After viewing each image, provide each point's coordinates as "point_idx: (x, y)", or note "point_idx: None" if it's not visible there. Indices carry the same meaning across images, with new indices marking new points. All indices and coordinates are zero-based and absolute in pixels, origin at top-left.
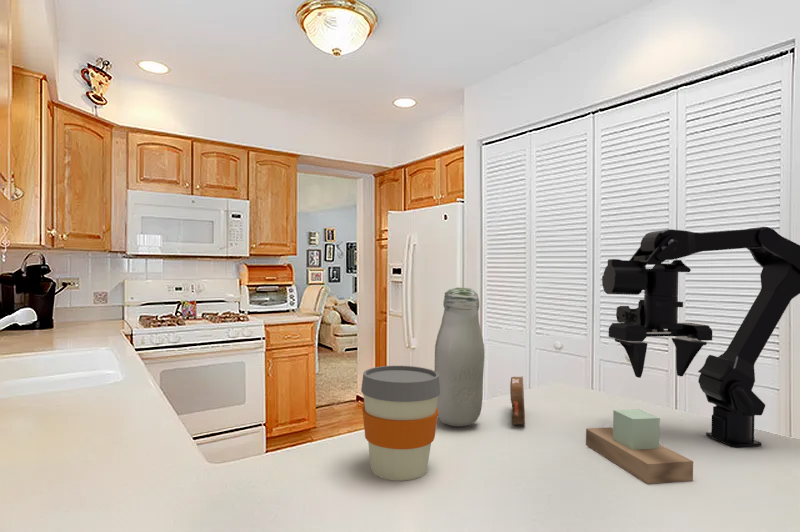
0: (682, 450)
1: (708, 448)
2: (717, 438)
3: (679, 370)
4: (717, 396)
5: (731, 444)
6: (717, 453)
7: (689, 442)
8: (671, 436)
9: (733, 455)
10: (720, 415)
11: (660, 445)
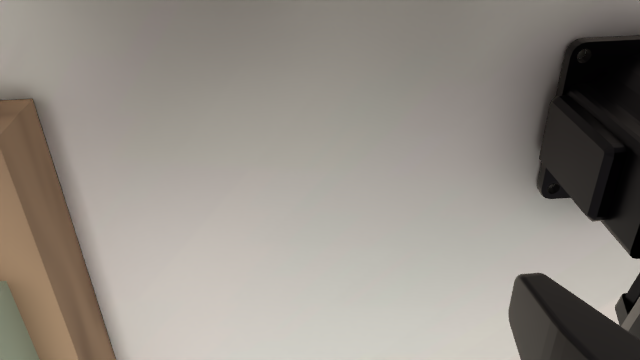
0: (278, 198)
1: (418, 185)
2: (545, 130)
3: (533, 350)
4: (638, 304)
5: (539, 188)
6: (406, 231)
7: (394, 115)
8: (370, 28)
9: (452, 250)
10: (619, 197)
11: (68, 354)
